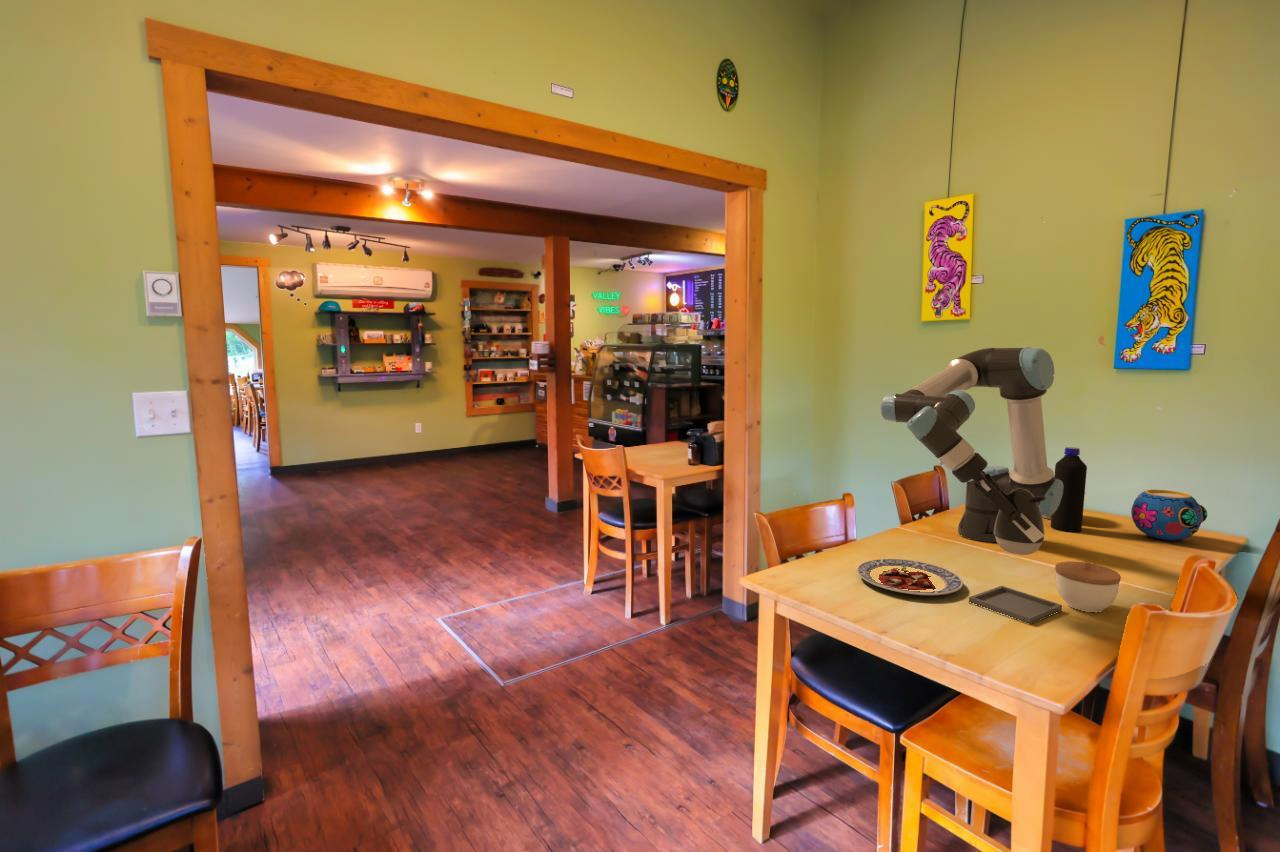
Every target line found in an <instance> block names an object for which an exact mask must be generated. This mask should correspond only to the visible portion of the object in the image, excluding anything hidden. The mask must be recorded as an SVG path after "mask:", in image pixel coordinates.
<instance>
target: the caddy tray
mask: <svg viewBox="0 0 1280 852" xmlns="http://www.w3.org/2000/svg"><path fill="white" fill-rule="evenodd" d="M969 602H971V603H974V604H977V605H980V606H982V607H985V608H988V609H991V610H993V611H996V612H999V613H1002V614H1005V615H1008V616H1010V617H1013V618H1016V619H1019V620H1021V621H1023V622H1026V623H1029V624H1030V625H1032V624H1031V623H1033V622H1035V623H1037V622H1039V621H1038V620H1040V619H1042V618H1044V617H1047V616H1049V615H1051V614H1054V613H1056V612H1058V613H1060V612H1059V611H1061V610H1063V604H1060V603H1057V602H1054V601H1051V600H1047V599H1044V598H1042V597H1038V596H1035V595H1032V594H1029V593H1026V592H1023V591H1019V590H1017V589H1014V588H1011V587H1006V586H1004V585H999V586H997V587H994V588H991V589H989V590H986V591H982V592H980V593H976V594H974V595H971V596H969V597H968V603H969ZM1061 612H1062V611H1061ZM1056 614H1057V613H1056ZM1054 615H1055V614H1054ZM1051 616H1052V615H1051ZM1049 617H1050V616H1049ZM1047 618H1048V617H1047ZM1044 619H1045V618H1044ZM1042 620H1043V619H1042ZM1036 621H1037V622H1036ZM1040 621H1041V620H1040ZM1023 622H1022V623H1023ZM1026 623H1025V624H1026ZM1029 624H1028V625H1029ZM1033 624H1034V623H1033Z"/></svg>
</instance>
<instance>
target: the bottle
mask: <svg viewBox="0 0 1280 852" xmlns="http://www.w3.org/2000/svg"><path fill="white" fill-rule="evenodd" d="M1080 450H1081V449H1080V448H1079V447H1074V446H1073V447H1071V446H1068V447H1067V446H1066V447H1065V448H1064V453H1063V454H1064V456H1063V457H1062V458H1060V459H1059V460H1058V461H1057V462H1056V463H1055V467H1054V479H1059V480H1061V481H1062V482H1063V495H1062V498H1061V501H1060V504H1059V506H1058V508H1057V510H1056V511H1055V513H1054V514H1052V515H1051V519H1050V527H1051V528H1052V529H1054V530H1056V531H1060V532H1064V533H1065V532H1066V533H1081V531H1082V529H1083V519H1084V506H1085V495H1086V484H1087V483H1086V482H1087V473H1088V472H1087V471H1088V466H1087V464H1086V463H1084V461H1083V460H1082V459H1081V457H1080V455H1081V454H1080V453H1081V451H1080Z"/></svg>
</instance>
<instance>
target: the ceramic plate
mask: <svg viewBox="0 0 1280 852" xmlns="http://www.w3.org/2000/svg"><path fill="white" fill-rule="evenodd" d="M882 566H901V567H903V568H902V569H901V571H904V572H901V571H899V570H900V569H898V568H893V569H891V570H888V571H883V573H882V574H879V578H878V579H879V580H880V581H881V583H883V584H881V583H878V582H876V581H875V580H874V579H872V577H871V576H870V572H871V570H873V569H875V568H878V567H882ZM906 567H911V568H915V569H920V570H924V571H927V572H930V573H933V574H935V575H937V576H939V577H940V578H941V579H942V580H943V581H944V583H945V587H944V588H943V589H942V590H940V591H933V592H920V591H909V590H926V589H933V590H934V589H936V588H935V586H934V585H933V584H932V582H931V581H930V580H929V578H928V577H931V576H928V575H927V574H926V573H923V572H919V571H917V572H909V571H908V570H906ZM897 569H898V570H897ZM904 569H905V570H904ZM856 572H857V574H858V576H859V577H860V578H861V579H862V580H864V581H865V582H867V583H869V584H871V585H873V586H876V587H879V588H882V589H884V590H887V591H888V590H889V591H892V592H897V593H900V594H901V593H902V594H908V595H914V596H915V595H918V596H940V595H941V596H942V595H948V594H949V595H950V594H952V593H953V594H954V593H955V592H958V591H959V590H961V589H962V588H963V585H964V582H963V580H962V578H961V577H960V576H958V574H956V573H954V572H952V571H950V570H949V569H947V568H943V567H942V566H938V565H935V564H930V563H927V562H922V561H917V560H911V559H901V558H900V559H899V558H881V559H872V560H868V561H866V562H865V561H864V562H863V563H861V564H859V565H858V566H857V568H856ZM906 572H909V573H906ZM903 589H908V590H903Z"/></svg>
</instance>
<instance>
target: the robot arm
mask: <svg viewBox="0 0 1280 852" xmlns="http://www.w3.org/2000/svg"><path fill="white" fill-rule="evenodd" d="M1054 364H1055V363H1054V361H1053V359H1052V357H1051V355H1050V353H1049V352H1048V351H1047V350H1045V349H1044V348H1039V347H1033V348H1032V347H1031V346H1030V347H1028V346H1027V347H987V348H981V349H977V350H975V351H971V352H968V353H966V354H962V356H959V357H957V358H955V359H953V360H952V361H950V362H949V363H948V364H947V365H946V366H945V369H943V370H941V371H940V372H938V373H936V374H934V375H932V376H931V377H929V378H926V379H925V380H924V381H922V382H921V383H918V384H917V385H915V386H914V387H912V388H910V389H909V390H907V391H905V392H902V393H895V392H894V393H888V394H886V395H885V396H883V397H882V400H881V402H880V414H881V416H882V418H883V419H884V420H886V421H889V422H890V421H891V422H895V423H905V424H906V427H907V429H908V430H909V431H910V433H911V434H913V436H914V438H915V439H916V440H918V441H919V442H920V443H921V444H922V445H923V446H924V447H926V449H928V450H929V452H931V453H932V454H933V456H934V457H935V458H936V459H937V460H938V464H939V466H943V465H944V467H946V469H948V470H951V472H952V473H951V474H952V475H953V476H954V477H955V478H956V479H957V480H958V481H959V482H960V483H962V484H965V483H966V488H965V507H964V512H963V515H962V517H961V519H960V521H959V523H958V527H957V534H958V533H959V534H960V536H961V535H962V536H961V537H963V536H964V537H963V538H965V537H967V538H966V539H968V538H970V539H969V540H972V539H974V541H977V540H979V541H978V542H983V541H984V542H985V543H997V541H996V538H995V535H994V526H995V522H996V518H997V515H998V512H999V510H1001V511H1002V512H1003V513H1004V514H1005V515H1006V516H1007V517H1008V520H1007V521H1008V522H1009V523H1010V522H1013V523H1014V524H1015V525H1016V526H1017V527H1018V528H1019V529H1020V530H1021V531H1022V532H1023V533H1024V534H1025V535H1026V536H1027V537H1028V538H1029V539H1030V540H1031V541H1032V542H1033V543H1034V542H1036V541H1037V540H1039V539H1040V538H1042V537H1043V536H1044V537H1045V534H1044V535H1043V534H1042V533H1041V532H1040V531H1039V530H1038V529H1037V528H1036V527H1035V526H1034V525H1033V524H1032V523H1031V522H1030V521H1029V520H1028V519H1027V518H1026V517H1025V516H1024V515H1023V514H1022V513H1021V512H1020V511H1018V510H1017V509H1016V508H1015V507H1014V506H1013V505H1012V504H1011V503H1010V501H1009V500H1008V499H1007V498H1006V497H1007V495H1008V494H1009V493H1010V492H1011V491H1012V490H1014V489H1019V488H1022V489H1026V490H1028V491H1030V492H1031V493H1032V494H1033V495H1034V497H1038V496H1045V498H1046V499H1045V500H1044V501H1041V502H1038V505H1039V508H1040V511H1041V514H1042V515H1043V516H1050V515H1052V514H1054V513H1055V511H1056V510H1057V508H1058V506H1059V504H1060V501H1061V498H1062V495H1063V482H1062V481H1061V480H1059V479H1054V476H1055V471H1054V470H1053V469H1052V468H1051V467H1049V466H1048V460H1047V447H1046V437H1045V428H1044V427H1045V426H1044V416H1043V402H1042V397H1044V396H1045V395H1046V394H1047V391H1048V390H1049V389H1050V388H1051V387H1052V386H1053V384H1054V381H1055V376H1054V375H1055V366H1054ZM980 387H982V388H998V389H999V396H1000V397H1001V399H1004V400H1006V404H1007V413H1008V414H1007V415H1008V424H1009V433H1010V441H1011V451H1012V458H1013V459H1012V462H1013V468H1012V469H1011V470H1009V467H1008V466H1007V467H1006V466H1003V465H1002V466H1001V465H1000V466H999V465H989V466H988V461H987V460H986V459H985V458H984V457H983V456H982V455H981V454H980V453H979V452H975V450H976V449H975V448H974V447H973V446H972V445H971V444H970V443H969V442H968V441H967V440H966V439H965V438H964V437H963V436H961V435H960V434H959V433H958V432H957V431H958V430H959V429H960V428H961V427H962V426H963V425H964V424H965V423H966V422H967V421H968V420H969V419H970V417H971V416H972V415H973V413H974V411H975V410H976V403H975V402H976V401H975V400H974V398H973V397H972V395H970V394H969V393H967V392H966V391H967V390H970V389H973V388H980ZM1013 511H1014V512H1013ZM1011 512H1013V513H1011ZM1010 513H1011V514H1010ZM959 534H958V535H959Z"/></svg>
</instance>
